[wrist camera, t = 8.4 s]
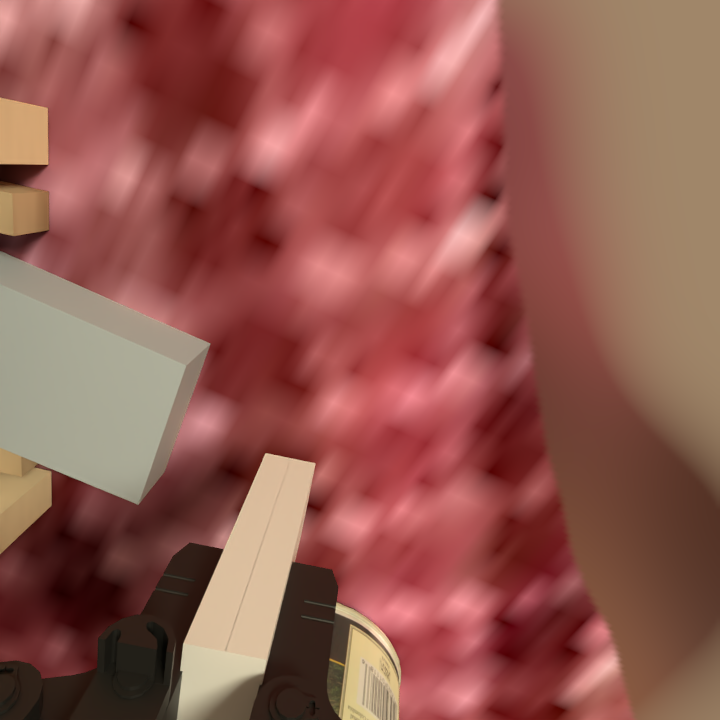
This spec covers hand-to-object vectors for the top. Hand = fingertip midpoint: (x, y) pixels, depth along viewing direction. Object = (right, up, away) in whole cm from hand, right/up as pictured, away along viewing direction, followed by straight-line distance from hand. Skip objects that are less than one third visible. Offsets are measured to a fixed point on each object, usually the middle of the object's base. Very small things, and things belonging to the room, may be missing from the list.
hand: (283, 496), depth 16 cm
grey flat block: (-12, +5, +7) cm, 15 cm away
